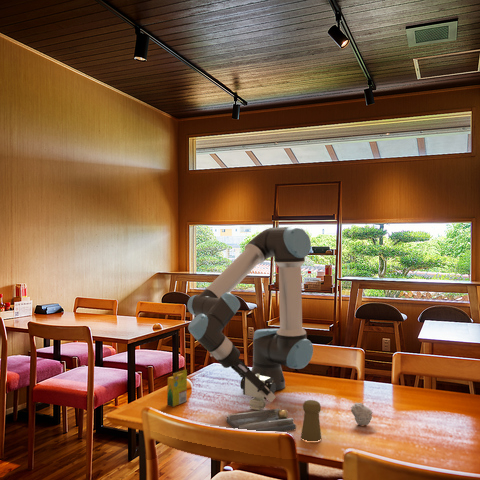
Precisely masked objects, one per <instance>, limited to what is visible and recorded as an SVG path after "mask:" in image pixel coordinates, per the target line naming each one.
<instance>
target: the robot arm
mask: <svg viewBox="0 0 480 480" xmlns="http://www.w3.org/2000/svg"><path fill="white" fill-rule="evenodd" d="M311 248H312V244H311V238H310V235H309V234H308V233H307V232H306V231H305V229H303V228H301V227H299V226H284V227H282V226H281V227H280V226H279V227H269V228H266V229H264V230H263V231H261V232H260V233H258V234H257V235H255V236H254V237H253V238H252V239H251V240H250V241H249V242H248V243H246V245H245V246H244V250H243V251H242V252H241V253H240V254H239V255H238V257H237V258H236V259H234V260H233V261H232V262H231V264H229V265H228V266H227V268H225V269H224V270H223V271H222V272H221V273H220V274H219V275H218V276H217V277H216V278H215V279H214V280H213V281H212V282H211V283H210V284H209V285H208V286H207V287H206V288H205V289H204V290H203V291H202V292H201V293H200V294H194V295H192V296H190V297H189V298H188V301H187V304H186V305H187V307H186V308H187V310H188V312H189V313H190V315H193V316H195V317H194V318H192V320H190V322H189V324H188V326H187V329H188V331H189V333H190V334H191V335H192V336H193V338H194V339H195V340H196V341H197V342H198V343H199V344H201V346H202V347H204V349H206V350H207V351H208V352H209V356H210V358H214V359H215V360H217V362H218V363H219V364H220V365H221V366H222V367H223V368H225V369H229V368H231V369H232V370H233V371H234V372H235V373H237V375H239V376H240V378H241V379H242V378H243V377H246V378H247V379H248V380H249V381H250V382H251V383H252V384H253V385H254V386H255V387H256V388H257V389H258V390H257V392H259V391H260V392H261V394H262V395H263V396H264V397H265V398H266V399H265V400H267V401H268V402H269V403H270V404H271V403H273V401H274V400H275V399H276V397H277V396H276V395H275V393H274V394H273V393H272V392H271V391H270V392H269V389H268V388H267V387H266V386H265V383H263V382H262V381H261V380H260V379H259V378H258V377H257V376H256V375H257V374H260V375H261V376H265V377H271V378H273V379H272V381H273V383H275V385H276V390H275V392H276V391H281V390H283V389H285V387H286V380H285V376H284V372H283V368H282V366H285V367H288V368H290V369H296V370H301V369H304V368H305V367H306V366H308V365H309V363H310V362H311V360H312V358H313V354H314V346H313V343H312V342H311V340H309V339H307V331H306V330H305V328H303V306H302V305H303V304H302V303H303V300H302V298H303V297H302V266H303V264H304V263H305V261H306V260H305V258H306V257H307V256H308V255H309V253H310V252H311ZM273 257H274V263H275V264H276V265H277V266H278V291H279V293H278V295H279V296H278V297H279V298H278V299H279V328H261V329H256V330H255V331H254V332H253V339H252V368H251V369H250V367H249V366H248V365H247V364H246V363H245V362H244V361H243V360H242V359H241V358H240V355H241V351H240V350H239V349H238V347H236V346H235V344H233V342H232V341H231V340H230V339H229V338H228V337H227V336H226V335H225V334H224V333H223V330H224V329H225V327H226V326H227V325H228V323H230V321H231V320H232V318H233V317H234V316H235V315H236V313H237V312H238V310H239V309H240V308H241V302H240V300H239V298H237V296H235V295H234V294H232V293H231V292H232V291H234V289H235V288H236V287H237V286H238V285H239V284H240V283H241V282H242V281H243V280H244V279H245V278H246V277H247V276H248V275H249V274H250V273H251V272H252V271H253V269H255V268H256V266H257V265H258V264H263V263H264V262H265V261H266V260H267V259H269V258H273Z"/></svg>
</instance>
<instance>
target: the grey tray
mask: <svg viewBox="0 0 480 480" xmlns="http://www.w3.org/2000/svg"><path fill="white" fill-rule="evenodd" d="M288 416H289V413H288V410H287V409H282V410H281V408H273V409H264V410H263V409H261V410H260V411H258V410H254V411H248V412H238V413H229V414H228V416H226V423H227V424H228V425H229V426H230V427H231V428H232V429H234V428H238V429H247V430H256V431H283V432H287V431H295V430H294V429H297V424H295V423H294V418H293V417H289V418H288Z"/></svg>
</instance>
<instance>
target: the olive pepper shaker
mask: <svg viewBox="0 0 480 480" xmlns="http://www.w3.org/2000/svg"><path fill="white" fill-rule="evenodd" d="M321 408H322V407H321V404H320V402H319V401H318V400H313V399H307V400H305V401H304V402H303V403H302V410H303V412H304V415H303V421H302V428H301V434H300V435H301V436H300V439H301V438H302V439H304V440H307V441H318V440H320V439H321V440H322V431H321V424H320V423H321V421H320V412H321ZM302 439H301V440H302Z"/></svg>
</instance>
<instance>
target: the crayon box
mask: <svg viewBox="0 0 480 480" xmlns="http://www.w3.org/2000/svg"><path fill="white" fill-rule="evenodd" d="M187 371H188V369H183V370H180V371H175V372H173V373H172V376H169V377H167V398H166V400H167V401H166V402H167V403H166V404H167V406H169V407H172V408H174V407H176V406H178V405H181V404H183V403H186V402H188V401H187V398H188V397H187V391H188V389H187V387H188V386H187V385H188V383H187V380H188V372H187Z"/></svg>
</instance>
